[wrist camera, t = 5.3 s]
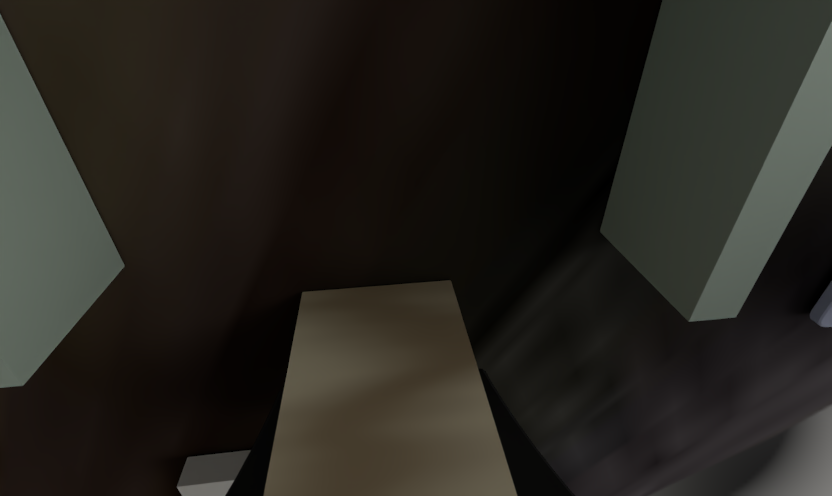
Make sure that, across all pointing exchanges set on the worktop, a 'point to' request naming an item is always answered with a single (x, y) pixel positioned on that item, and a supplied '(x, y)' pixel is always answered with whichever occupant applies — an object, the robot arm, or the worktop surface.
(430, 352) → the maple block
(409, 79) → the worktop surface
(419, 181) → the worktop surface
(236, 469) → the coaster
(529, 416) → the worktop surface
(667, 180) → the arch
